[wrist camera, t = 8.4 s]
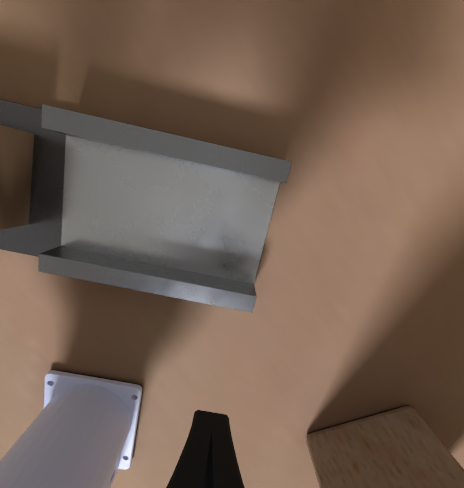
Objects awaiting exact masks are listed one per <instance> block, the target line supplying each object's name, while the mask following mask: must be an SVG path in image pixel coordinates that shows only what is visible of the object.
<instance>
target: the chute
mask: <svg viewBox="0 0 464 488" xmlns="http://www.w3.org/2000/svg"><path fill="white" fill-rule="evenodd" d="M0 125H3V126H6V127H10V128H14V129H17V130H21V131H25V132H28V133H32V134H34V146H33V162H32V179H31V196H30V212H29V224H28V225H23V226H18V227H13V228H8V229H3V230H0V249H2V250H7V251H12V252H18V253H23V254H28V255H33V256H38V257H39V272H44V273H50V274H55V275H60V276H65V277H70V278H75V279H81V280H86V281H91V282H96V283H101V284H107V285H112V286H117V287H122V288H127V289H132V290H138V291H143V292H148V293H153V294H158V295H163V296H169V297H174V298H179V299H184V300H189V301H195V302H200V303H205V304H210V305H215V306H220V307H226V308H231V309H236V310H241V311H246V312H253V308H254V305H255V301H256V297H257V296H256V292H255V287H254V281H255V277H256V274H257V270H258V266H259V262H260V258H261V254H262V250H263V246H264V242H265V238H266V234H267V231H268V227H269V223H270V219H271V215H272V211H273V207H274V203H275V199H276V195H277V191H278V188H279V184H280V183H287V179H288V175H289V171H290V167H291V164H292V162H291V161H286V160H282V159H278V158H273V157H269V156H265V155H260V154H256V153H252V152H247V151H243V150H239V149H234V148H230V147H226V146H221V145H217V144H213V143H208V142H204V141H200V140H195V139H191V138H187V137H182V136H178V135H174V134H169V133H165V132H161V131H157V130H152V129H148V128H144V127H139V126H135V125H131V124H126V123H122V122H118V121H113V120H109V119H105V118H100V117H96V116H92V115H87V114H83V113H79V112H74V111H70V110H66V109H61V108H57V107H53V106H48V105H44V104H42V109H39V108H35V107H31V106H26V105H22V104H17V103H13V102H9V101H4V100H0Z"/></svg>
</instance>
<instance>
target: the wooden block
mask: <svg viewBox="0 0 464 488" xmlns="http://www.w3.org/2000/svg"><path fill="white" fill-rule="evenodd" d="M306 442H307V445H308V449H309V452H310V456H311V459H312V462H313V466H314V469H315V473H316V476H317V479H318V483H319V486H320V488H464V469H463V468H462V467H461V465H460V464H459V463H458V462H457V461H456V459H455V458H454V457H453V456H452V454H451V453H450V452H449V451H448V450H447V448H446V447H445V446H444V445H443V443H442V442H441V441H440V440H439V439H438V437H437V436H436V435H435V434H434V432H433V431H432V430H431V429H430V428H429V426H428V425H427V424H426V423H425V421H424V420H423V419H422V418H421V417H420V415H419V414H418V413H417V412H416V410H415V409H414V408H412V407H411V406H405V407H401V408H398V409H394V410H391V411H387V412H384V413H380V414H377V415H373V416H370V417H366V418H363V419H359V420H356V421H352V422H349V423H345V424H341V425H338V426H334V427H331V428H327V429H324V430H320V431H317V432H313V433H310V434H308V435H307V441H306Z"/></svg>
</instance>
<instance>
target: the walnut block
mask: <svg viewBox="0 0 464 488" xmlns="http://www.w3.org/2000/svg"><path fill="white" fill-rule="evenodd" d="M33 146H34V134H32V133H28V132H25V131H21V130H17V129H14V128H10V127H6V126H3V125H0V230H3V229H8V228H13V227H18V226H23V225H28V224H29V212H30V196H31V179H32V162H33Z"/></svg>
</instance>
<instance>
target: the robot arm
mask: <svg viewBox="0 0 464 488" xmlns="http://www.w3.org/2000/svg"><path fill="white" fill-rule="evenodd" d="M135 395H136V396H135ZM141 396H142V387H141V386H140V385H137V384H131V383H125V382H119V381H114V380H108V379H102V378H96V377H90V376H84V375H79V374H73V373H67V372H61V371H55V370H51V371H49V372H48V373H47V374H46V375H45V393H44V409H43V410H42V412H41V413H40V414H39V415H38V416H37V418H36V419H35V420H34V421H33V422H32V424H31V425H30V426H29V427H28V428H27V430H26V431H25V432H24V433H23V434H22V436H21V437H20V438H19V439H18V440H17V442H16V443H15V444H14V445H13V446H12V447H11V449H10V450H9V451H8V452H7V453H6V455H5V456H4V457H3V458H2V459H1V461H0V488H110V487H111V485H112V482H113V480H114V477H115V475H116V472H117V470H118V469H128V468H129V467H130V465H131V462H132V455H133V449H134V442H135V435H136V429H137V422H138V416H139V409H140V403H141ZM166 488H244V485H243V481H242V478H241V474H240V470H239V466H238V463H237V459H236V455H235V450H234V446H233V441H232V436H231V431H230V425H229V417H228V416H227V415H225V414H219V413H213V412H207V411H201V410H197V411H195V413H194V417H193V422H192V426H191V429H190V433H189V436H188V438H187V441H186V444H185V446H184V449H183V451H182V454H181V456H180V459H179V461H178V463H177V466H176V468H175V470H174V473H173V475H172V477H171V479H170V481H169V483H168V485H167V487H166Z"/></svg>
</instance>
